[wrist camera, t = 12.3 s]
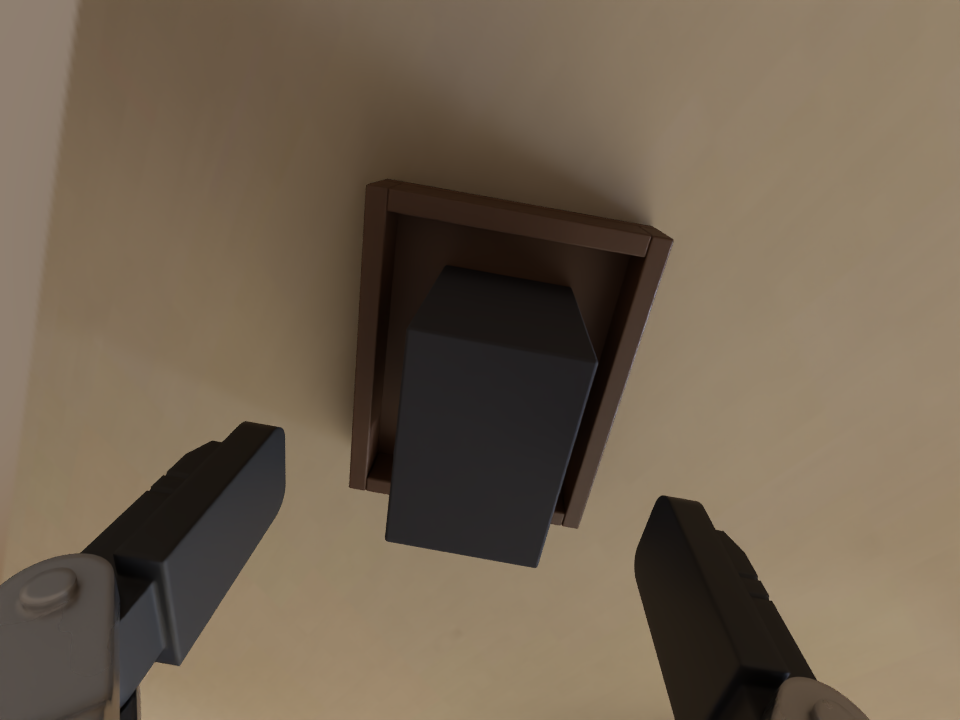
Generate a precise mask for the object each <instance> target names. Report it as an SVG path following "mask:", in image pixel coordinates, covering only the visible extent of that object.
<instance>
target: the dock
mask: <svg viewBox="0 0 960 720" xmlns="http://www.w3.org/2000/svg"><path fill="white" fill-rule="evenodd" d="M673 242H674V241H673V239H672V238H670V237H669V236H667V235H666V234H664V233H662V232H661V231H659V230H657V229H656V228H654V227H653V226H647V225H642V224H636V223H631V222H625V221H620V220H614V219H608V218H603V217H597V216H592V215H586V214H581V213H575V212H569V211H564V210H558V209H553V208H547V207H542V206H536V205H530V204H525V203H519V202H514V201H508V200H503V199H497V198H491V197H486V196H480V195H475V194H469V193H464V192H458V191H452V190H447V189H441V188H436V187H430V186H425V185H419V184H413V183H408V182H402V181H397V180H391V179H385V180H381V181H378V182H374V183H370V184H367V185H366V196H365V213H364V231H363V249H362V267H361V284H360V302H359V320H358V338H357V355H356V373H355V391H354V409H353V427H352V444H351V462H350V480H349V487H350V488H354V489H359V490H367V491H372V492H377V493H383V494H388V495H389V494H390V484H391V475H392V465H393V455H394V445H395V436H396V426H397V416H398V406H399V397H400V387H401V377H402V367H403V358H404V348H405V338H406V329H407V327H408V326H409V324H410V322H411V321H412V319H413V317H414V316H415V314H416V312H417V311H418V309H419V307H420V306H421V304H422V302H423V301H424V299H425V298H426V296H427V294H428V293H429V291H430V289H431V288H432V286H433V284H434V283H435V281H436V279H437V278H438V276H439V274H440V273H441V271H442V270H443V268H444V266H445V265H450V266H456V267H461V268H467V269H472V270H478V271H484V272H489V273H495V274H500V275H506V276H511V277H517V278H523V279H528V280H534V281H539V282H545V283H550V284H556V285H562V286H567V287H571V288H572V290H573V293H574V296H575V298H576V301H577V304H578V307H579V310H580V313H581V315H582V318H583V321H584V324H585V327H586V329H587V332H588V335H589V338H590V341H591V343H592V346H593V349H594V352H595V355H596V357H597V360H598V365H597V368H596V372H595V375H594V379H593V382H592V385H591V389H590V392H589V395H588V399H587V402H586V405H585V409H584V412H583V416H582V419H581V422H580V426H579V429H578V432H577V436H576V439H575V442H574V446H573V449H572V453H571V456H570V459H569V463H568V466H567V469H566V473H565V476H564V479H563V483H562V486H561V490H560V493H559V496H558V500H557V503H556V506H555V510H554V513H553V516H552V520H551V523H550V524H554V525H561V524H562V526H565V527H570V528H576V529H577V528H578V527H579V524H580V521H581V518H582V515H583V512H584V509H585V506H586V503H587V500H588V497H589V494H590V491H591V488H592V485H593V482H594V479H595V476H596V473H597V470H598V467H599V464H600V461H601V458H602V455H603V452H604V449H605V446H606V443H607V440H608V437H609V434H610V431H611V428H612V425H613V422H614V419H615V416H616V413H617V410H618V407H619V404H620V401H621V398H622V395H623V392H624V389H625V386H626V383H627V380H628V377H629V374H630V371H631V368H632V365H633V362H634V359H635V356H636V353H637V350H638V347H639V344H640V341H641V338H642V335H643V332H644V329H645V326H646V323H647V320H648V317H649V314H650V311H651V308H652V305H653V302H654V299H655V296H656V293H657V290H658V287H659V284H660V281H661V278H662V275H663V272H664V269H665V266H666V263H667V260H668V257H669V254H670V251H671V248H672V245H673Z"/></svg>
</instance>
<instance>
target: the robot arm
mask: <svg viewBox="0 0 960 720" xmlns="http://www.w3.org/2000/svg"><path fill="white" fill-rule="evenodd" d="M285 484H286V483H285V433H284V430H283V429H282V428H281V427H276V426H270V425H264V424H258V423H253V422H247V421H245V422H243V423H241V424H240V425H239V426H238V427H237V428H236V429H235V430H234V431H233V432H232V433H231V434H230V435H229V436H228V437H227V438H226V439H225V440H224V441H223V442H217V441H210V442H209V443H207V444H205V445H203V446H201V447H199V448H197V449H195V450H193V451H191V452H189V453H187V454H185V455H184V456H183V457H182V458H181V459H180V460H179V461H178V462H177V463H176V464H175V465H174V466H173V467H172V468H170V469H169V470H168V471H167V474H166V476H164V475H163V476H162V477H161V478H160V479H159V480H158V481H157V482H156V483H154V484H153V485H152V486H151V489H150V491H146V492H145V493H144V494H143V495H142V496H141V497H140V498H138V499H137V500H136V501H135V502H134V503H133V504H132V505H131V506H130V507H129V508H128V509H127V510H126V511H125V512H124V513H122V514H121V515H120V516H119V517H118V518H117V519H116V520H115V521H114V522H113V523H112V524H111V525H110V526H109V527H108V528H107V529H105V530H104V531H103V532H102V533H101V534H100V535H99V536H98V537H97V538H96V539H95V540H94V541H93V542H92V543H91V544H89V545H88V546H87V547H86V548H85V549H84V550H83V551H82V552H81V553H77V554H68V555H62V556H58V557H54V558H50V559H47V560H44V561H42V562H39V563H37V564H34V565H32V566H30V567H28V568H26V569H24V570H22V571H20V572H19V573H17V574H15V575H14V576H12V577H11V578H9V579H8V580H7V581H5V582H4V583H3V584H2V585H0V720H141V699H140V687H139V684H140V682H141V681H142V679H143V678H144V676H145V675H146V674H147V672H148V671H149V669H150V668H151V666H152V665H153V663H154V662H159V663H165V664H171V665H177V666H180V665H181V663H182V661H183V660H184V658H185V657H186V655H187V654H188V652H189V651H190V649H191V647H192V646H193V644H194V643H195V641H196V640H197V638H198V637H199V635H200V634H201V632H202V630H203V629H204V627H205V626H206V624H207V623H208V621H209V620H210V618H211V616H212V615H213V613H214V612H215V610H216V609H217V607H218V606H219V604H220V602H221V601H222V599H223V598H224V596H225V595H226V593H227V592H228V590H229V588H230V587H231V585H232V584H233V582H234V581H235V579H236V578H237V576H238V574H239V573H240V571H241V570H242V568H243V567H244V565H245V564H246V562H247V560H248V559H249V557H250V556H251V554H252V553H253V551H254V550H255V548H256V546H257V545H258V543H259V542H260V540H261V539H262V537H263V536H264V534H265V533H266V531H267V529H268V528H269V526H270V525H271V523H272V522H273V520H274V519H275V517H276V515H277V513H278V511H279V509H280V507H281V504H282V501H283V498H284V493H285ZM634 569H635V578H636V582H637V585H638V589H639V593H640V596H641V600H642V603H643V607H644V610H645V614H646V618H647V621H648V625H649V628H650V632H651V635H652V639H653V643H654V646H655V650H656V653H657V657H658V660H659V664H660V668H661V671H662V675H663V678H664V682H665V685H666V689H667V693H668V696H669V700H670V703H671V707H672V710H673V714H674V717H675V720H869V718H868V717H867V716H866V715H865V714H864V713H863V712H862V711H861V710H860V709H859V708H858V707H857V706H856V705H855V704H853V703H852V702H851V701H850V700H849V699H848V698H846V697H845V696H843V695H842V694H841V693H839V692H838V691H836V690H835V689H833V688H831V687H830V686H828V685H826V684H824V683H821V682H819V681H817V680H816V678H815V676H814V674H813V673H812V671H811V669H810V667H809V665H808V664H807V662H806V660H805V658H804V657H803V655H802V653H801V651H800V650H799V648H798V646H797V644H796V643H795V641H794V639H793V637H792V635H791V634H790V632H789V630H788V628H787V627H786V625H785V623H784V621H783V620H782V618H781V616H780V614H779V612H778V611H777V609H776V607H775V605H774V604H773V602H772V601H769V595H768V593H767V591H766V590H765V588H764V586H763V584H762V582H761V581H759V580H758V575H757V574H756V572H755V570H754V568H753V567H752V565H751V563H750V561H749V560H748V558H747V556H746V554H745V553H744V552H743V551H742V550H741V549H740V547H739V546H738V545H737V544H736V543H735V542H734V541H733V540H732V539H731V538H730V537H729V536H728V535H727V534H726V533H725V532H724V531H719V530H715V528H714V526H713V524H712V522H711V520H710V518H709V516H708V514H707V513H706V511H705V509H704V507H703V505H702V504H701V503H700V502H697V501H692V500H686V499H681V498H675V497H669V496H660V497H659V498H658V499H657V501H656V503H655V505H654V507H653V510H652V512H651V515H650V517H649V520H648V522H647V525H646V527H645V529H644V532H643V534H642V537H641V539H640V542H639V544H638V547H637V550H636V554H635V563H634Z"/></svg>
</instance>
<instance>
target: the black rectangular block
mask: <svg viewBox="0 0 960 720" xmlns="http://www.w3.org/2000/svg"><path fill="white" fill-rule="evenodd" d="M597 365H598V360H597V357H596V355H595V352H594V349H593V346H592V343H591V341H590V338H589V335H588V332H587V329H586V327H585V324H584V321H583V318H582V315H581V313H580V310H579V307H578V304H577V301H576V298H575V296H574V293H573V290H572V288H571V287H567V286H562V285H556V284H550V283H545V282H539V281H534V280H528V279H523V278H517V277H511V276H506V275H500V274H495V273H489V272H484V271H478V270H472V269H467V268H461V267H456V266H450V265H445V266H444V268H443V270H442V271H441V273H440V274H439V276H438V278H437V279H436V281H435V283H434V284H433V286H432V288H431V289H430V291H429V293H428V294H427V296H426V298H425V299H424V301H423V302H422V304H421V306H420V307H419V309H418V311H417V312H416V314H415V316H414V317H413V319H412V321H411V322H410V324H409V326H408V327H407V329H406V338H405V348H404V358H403V367H402V377H401V387H400V397H399V406H398V416H397V426H396V436H395V445H394V455H393V465H392V475H391V484H390V494H389V504H388V513H387V523H386V533H385V540H386V541H388V542H393V543H399V544H405V545H410V546H416V547H421V548H427V549H432V550H438V551H443V552H449V553H454V554H460V555H466V556H471V557H477V558H482V559H488V560H493V561H499V562H504V563H510V564H515V565H521V566H527V567H532V568H536V567H537V566H538V564H539V560H540V557H541V553H542V550H543V547H544V543H545V540H546V537H547V533H548V530H549V527H550V523H551V520H552V516H553V513H554V510H555V506H556V503H557V500H558V496H559V493H560V490H561V486H562V483H563V479H564V476H565V473H566V469H567V466H568V463H569V459H570V456H571V453H572V449H573V446H574V442H575V439H576V436H577V432H578V429H579V426H580V422H581V419H582V416H583V412H584V409H585V405H586V402H587V399H588V395H589V392H590V389H591V385H592V382H593V379H594V375H595V372H596V368H597Z"/></svg>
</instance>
